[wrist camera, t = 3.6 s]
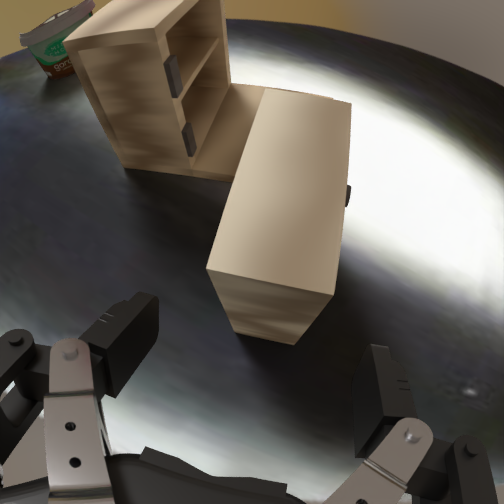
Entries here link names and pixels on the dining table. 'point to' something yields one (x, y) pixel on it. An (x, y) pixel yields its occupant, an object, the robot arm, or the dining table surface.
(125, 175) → the dining table surface
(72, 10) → the food container
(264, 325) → the door
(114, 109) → the cabinet
